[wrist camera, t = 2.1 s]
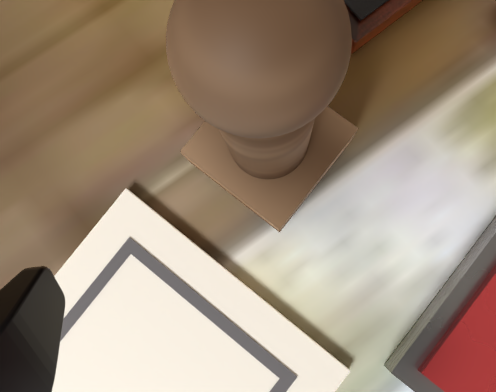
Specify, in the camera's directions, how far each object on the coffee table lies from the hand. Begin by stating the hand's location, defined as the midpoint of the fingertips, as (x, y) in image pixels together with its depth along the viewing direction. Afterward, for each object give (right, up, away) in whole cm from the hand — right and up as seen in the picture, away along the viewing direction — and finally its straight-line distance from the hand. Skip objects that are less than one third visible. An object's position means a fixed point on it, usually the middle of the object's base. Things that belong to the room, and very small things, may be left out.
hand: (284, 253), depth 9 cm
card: (-5, -7, +11) cm, 14 cm away
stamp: (0, +3, +12) cm, 12 cm away
